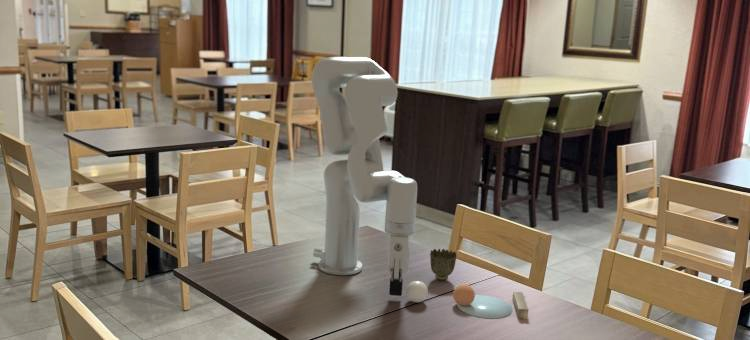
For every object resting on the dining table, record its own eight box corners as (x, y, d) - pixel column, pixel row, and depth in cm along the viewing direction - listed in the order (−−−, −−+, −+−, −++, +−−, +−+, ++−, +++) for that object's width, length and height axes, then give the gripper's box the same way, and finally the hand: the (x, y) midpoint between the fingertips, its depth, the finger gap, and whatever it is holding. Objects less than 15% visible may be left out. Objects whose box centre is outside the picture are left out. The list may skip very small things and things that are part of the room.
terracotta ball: (467, 281, 174) (482, 296, 175) (460, 278, 179) (474, 293, 180) (452, 296, 173) (467, 312, 174) (446, 293, 178) (460, 308, 179)
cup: (453, 286, 189) (455, 258, 188) (426, 282, 191) (428, 255, 189) (455, 276, 196) (458, 250, 195) (430, 273, 198) (432, 247, 196)
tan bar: (517, 318, 171) (518, 308, 170) (512, 300, 182) (513, 291, 181) (527, 318, 171) (528, 309, 170) (521, 301, 182) (522, 292, 181)
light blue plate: (449, 310, 174) (449, 309, 174) (467, 291, 186) (467, 291, 186) (503, 323, 168) (503, 322, 168) (518, 303, 180) (518, 302, 180)
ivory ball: (427, 281, 174) (432, 301, 176) (421, 275, 180) (425, 294, 181) (407, 288, 173) (412, 308, 174) (401, 281, 179) (406, 301, 180)
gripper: (414, 236, 166) (409, 307, 170) (415, 219, 181) (410, 284, 185) (383, 234, 167) (379, 304, 171) (386, 216, 181) (382, 282, 185)
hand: (395, 294), depth 178 cm, fingers closed
